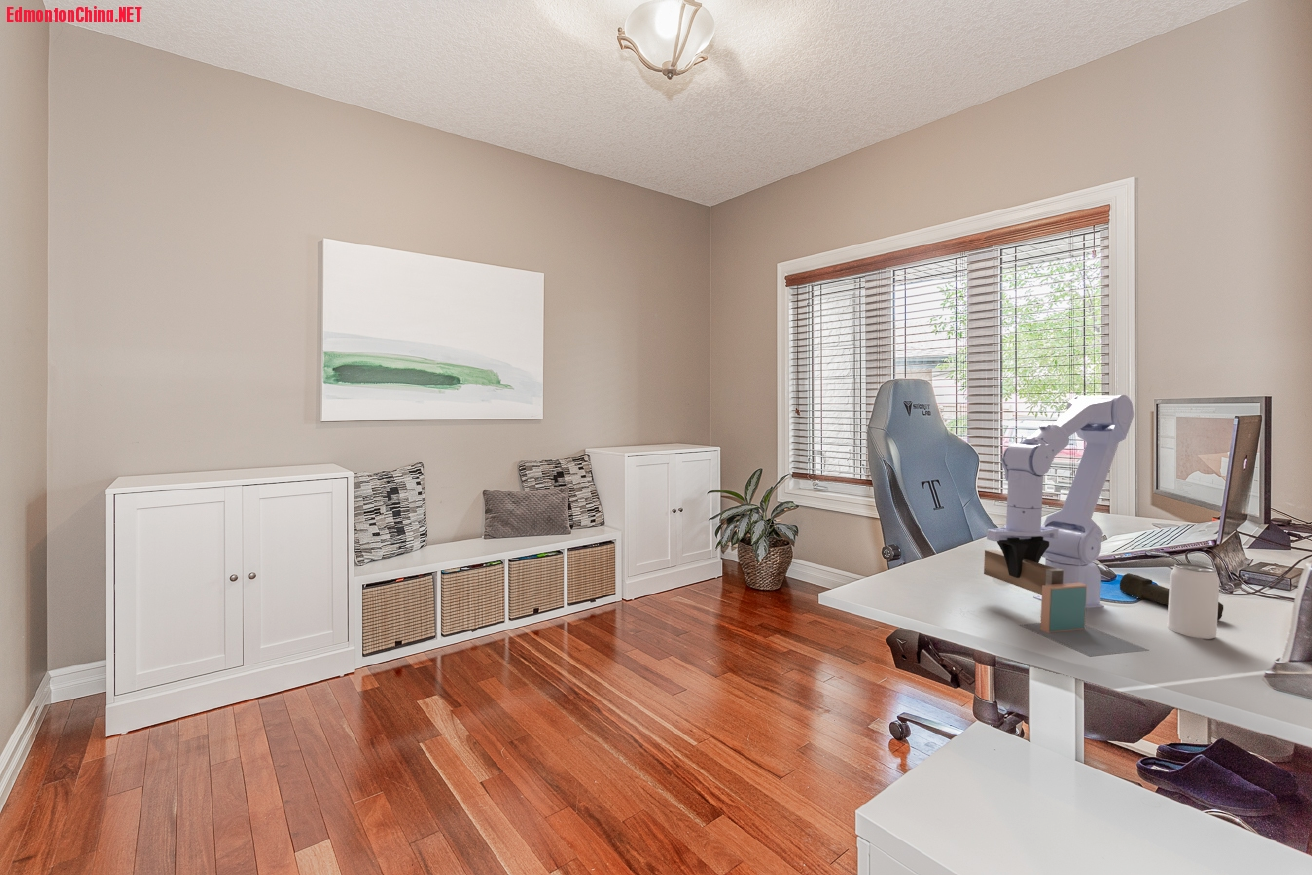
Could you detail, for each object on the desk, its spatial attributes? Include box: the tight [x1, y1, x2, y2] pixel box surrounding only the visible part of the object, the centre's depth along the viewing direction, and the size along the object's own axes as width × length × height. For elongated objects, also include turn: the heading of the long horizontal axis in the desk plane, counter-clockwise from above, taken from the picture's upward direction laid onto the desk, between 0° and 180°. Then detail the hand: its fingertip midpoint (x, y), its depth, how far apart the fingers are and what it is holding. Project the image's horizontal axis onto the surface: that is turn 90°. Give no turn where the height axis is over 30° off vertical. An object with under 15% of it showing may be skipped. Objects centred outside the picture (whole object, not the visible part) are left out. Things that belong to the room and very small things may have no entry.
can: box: [1167, 562, 1220, 641], centre depth 106 cm, size 6×6×12 cm
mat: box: [1019, 622, 1149, 657], centre depth 104 cm, size 12×14×1 cm
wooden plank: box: [983, 549, 1064, 595], centre depth 116 cm, size 3×16×5 cm, turn 13°
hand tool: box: [1119, 572, 1224, 622], centre depth 122 cm, size 19×4×5 cm, turn 9°
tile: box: [1040, 583, 1087, 633], centre depth 107 cm, size 8×2×8 cm, turn 103°
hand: (1021, 575), depth 116 cm, fingers closed on wooden plank, 2 cm apart
